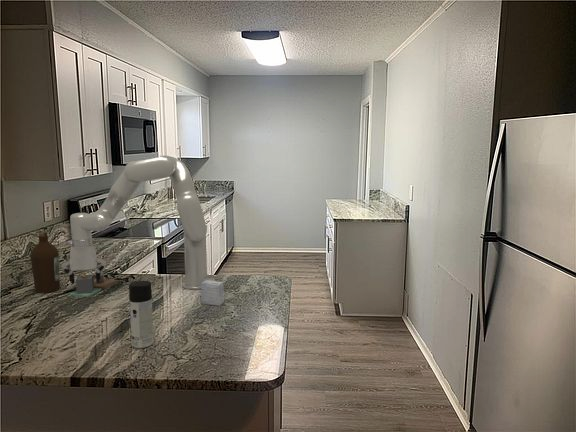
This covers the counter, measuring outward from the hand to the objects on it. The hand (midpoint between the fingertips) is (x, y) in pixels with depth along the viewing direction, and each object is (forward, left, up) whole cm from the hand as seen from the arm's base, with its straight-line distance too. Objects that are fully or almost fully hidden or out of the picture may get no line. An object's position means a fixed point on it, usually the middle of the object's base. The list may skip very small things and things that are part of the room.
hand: (85, 282), depth 184 cm
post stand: (+1, -11, -5) cm, 12 cm away
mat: (0, 0, -5) cm, 5 cm away
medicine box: (-57, -2, -5) cm, 57 cm away
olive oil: (+18, +1, -5) cm, 19 cm away
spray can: (-50, +37, -5) cm, 62 cm away
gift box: (0, 0, -4) cm, 4 cm away
